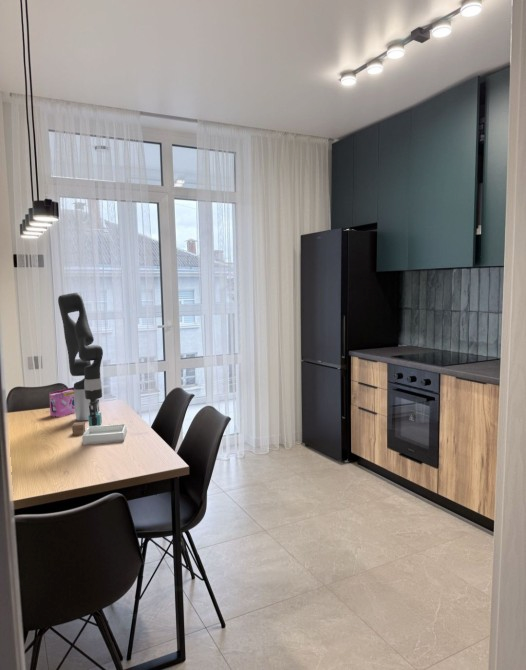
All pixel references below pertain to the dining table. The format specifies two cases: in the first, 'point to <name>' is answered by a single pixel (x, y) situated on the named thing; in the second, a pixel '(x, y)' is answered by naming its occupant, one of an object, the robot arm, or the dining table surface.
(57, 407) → the gum box
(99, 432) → the white tray
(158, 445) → the dining table surface
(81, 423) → the walnut block
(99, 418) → the teal block
